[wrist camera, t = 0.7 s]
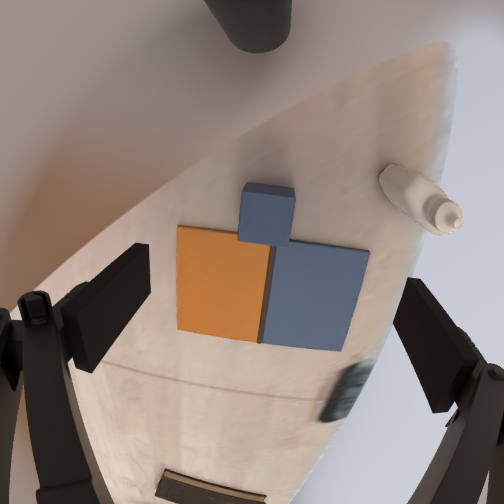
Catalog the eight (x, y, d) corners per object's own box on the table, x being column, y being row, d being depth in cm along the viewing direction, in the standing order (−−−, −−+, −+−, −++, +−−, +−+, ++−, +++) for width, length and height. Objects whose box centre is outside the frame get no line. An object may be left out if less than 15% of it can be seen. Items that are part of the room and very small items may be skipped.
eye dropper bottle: (412, 156, 27) (476, 175, 16) (424, 208, 29) (484, 251, 18) (374, 168, 28) (424, 192, 17) (387, 220, 30) (436, 270, 19)
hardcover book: (165, 468, 53) (162, 476, 51) (266, 495, 54) (265, 503, 52) (156, 489, 59) (154, 496, 57) (242, 513, 60) (241, 520, 58)
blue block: (247, 182, 30) (241, 190, 26) (294, 188, 30) (295, 197, 26) (243, 226, 32) (237, 241, 28) (287, 232, 32) (288, 248, 28)
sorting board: (178, 225, 33) (176, 227, 32) (368, 250, 32) (370, 253, 31) (178, 326, 37) (176, 330, 37) (340, 348, 36) (341, 352, 36)
